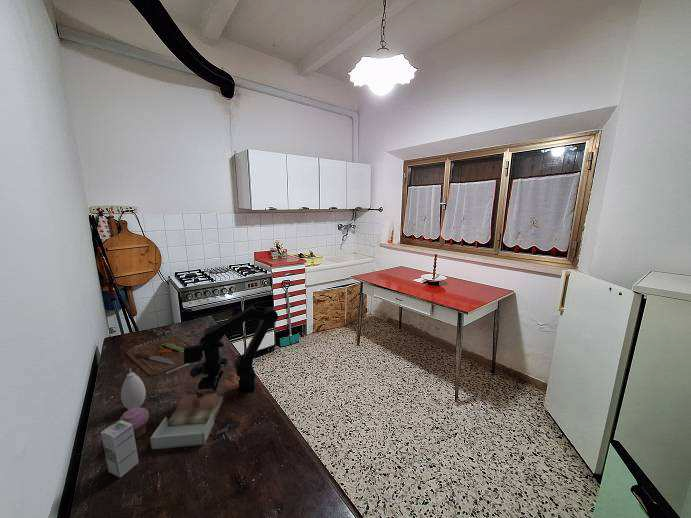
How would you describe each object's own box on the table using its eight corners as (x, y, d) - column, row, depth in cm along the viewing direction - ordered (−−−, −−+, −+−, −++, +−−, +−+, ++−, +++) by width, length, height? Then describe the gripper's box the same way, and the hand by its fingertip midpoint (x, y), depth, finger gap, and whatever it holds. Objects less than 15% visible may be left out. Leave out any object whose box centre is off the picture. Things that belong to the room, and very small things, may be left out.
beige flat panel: (223, 401, 115) (222, 396, 114) (213, 422, 103) (212, 416, 103) (183, 404, 113) (182, 399, 113) (168, 426, 101) (167, 420, 101)
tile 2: (217, 399, 112) (217, 393, 112) (213, 408, 107) (212, 401, 107) (205, 400, 112) (204, 393, 111) (200, 409, 107) (199, 402, 106)
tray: (214, 423, 103) (213, 413, 102) (204, 444, 93) (203, 433, 93) (166, 427, 101) (165, 417, 100) (151, 449, 91) (150, 438, 91)
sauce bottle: (145, 398, 116) (140, 360, 113) (148, 408, 111) (143, 368, 108) (122, 407, 111) (116, 367, 108) (124, 418, 105) (118, 376, 102)
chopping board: (208, 357, 151) (208, 351, 151) (153, 380, 130) (152, 374, 129) (173, 335, 177) (173, 331, 177) (122, 352, 156) (122, 347, 155)
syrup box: (139, 462, 87) (133, 422, 84) (119, 479, 81) (112, 437, 79) (127, 457, 89) (121, 418, 86) (106, 473, 83) (99, 432, 81)
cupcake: (127, 450, 91) (123, 424, 90) (115, 439, 95) (111, 414, 94) (155, 431, 99) (152, 407, 97) (143, 422, 103) (140, 399, 101)
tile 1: (197, 401, 111) (196, 394, 111) (192, 409, 106) (191, 402, 106) (184, 402, 111) (183, 395, 110) (178, 410, 106) (177, 403, 105)
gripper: (201, 347, 122) (204, 378, 125) (181, 371, 104) (185, 407, 107) (226, 346, 124) (229, 377, 126) (212, 369, 105) (215, 405, 108)
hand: (215, 390), depth 117 cm, fingers closed
